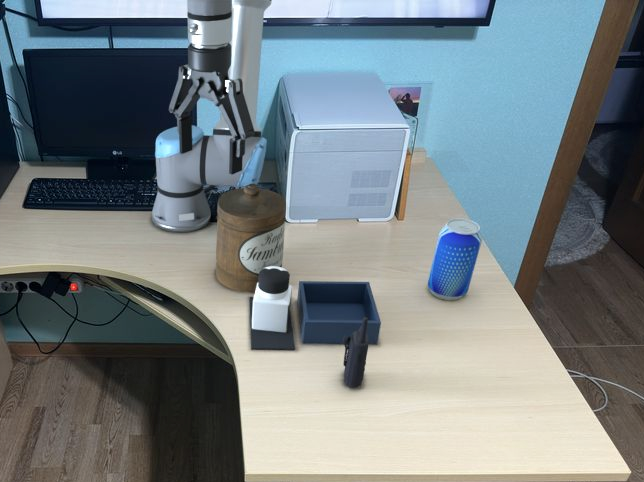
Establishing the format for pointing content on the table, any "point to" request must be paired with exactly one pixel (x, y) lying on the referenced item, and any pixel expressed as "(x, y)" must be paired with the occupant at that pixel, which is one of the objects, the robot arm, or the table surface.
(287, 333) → the mat
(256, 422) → the table surface
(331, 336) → the tote
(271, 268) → the medicine bottle
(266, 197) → the wooden container
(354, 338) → the two-way radio
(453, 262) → the beer can
